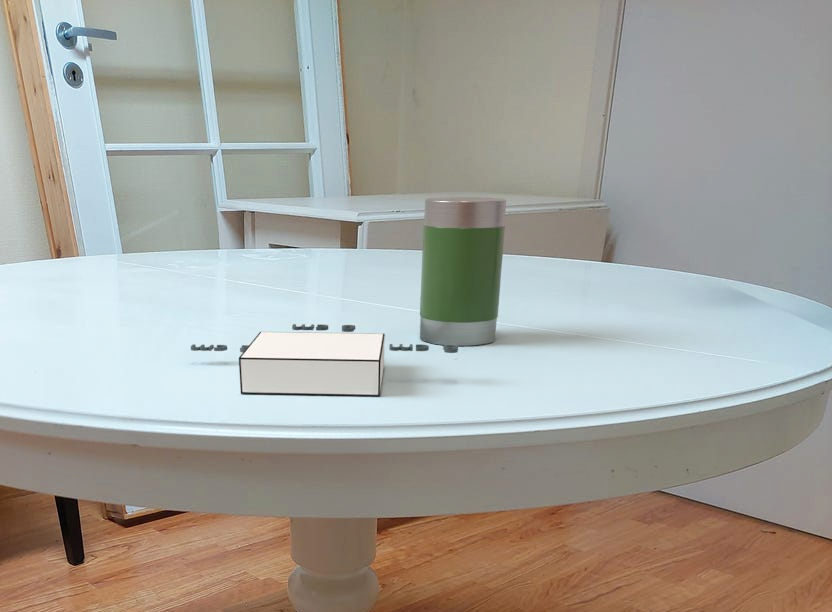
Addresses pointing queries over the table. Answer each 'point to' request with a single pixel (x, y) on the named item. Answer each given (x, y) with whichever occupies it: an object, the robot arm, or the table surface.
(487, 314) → the can
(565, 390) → the table surface
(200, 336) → the table surface
